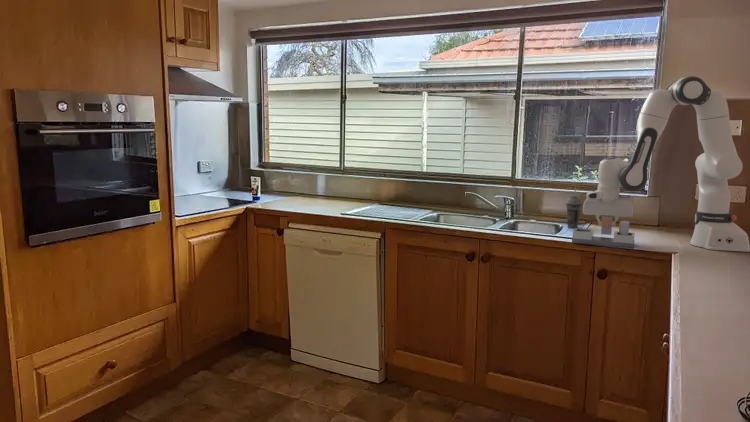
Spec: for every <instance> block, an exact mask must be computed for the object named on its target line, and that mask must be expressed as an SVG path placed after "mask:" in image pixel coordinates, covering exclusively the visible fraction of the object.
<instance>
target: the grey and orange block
mask: <svg viewBox="0 0 750 422" xmlns="http://www.w3.org/2000/svg"><path fill="white" fill-rule="evenodd" d="M601 221H602V226H601V229H600V230H601V232H600V234H601V235H607V236H611V235H612V230H613V226H612V222H613V216H602V215H601Z"/></svg>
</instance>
